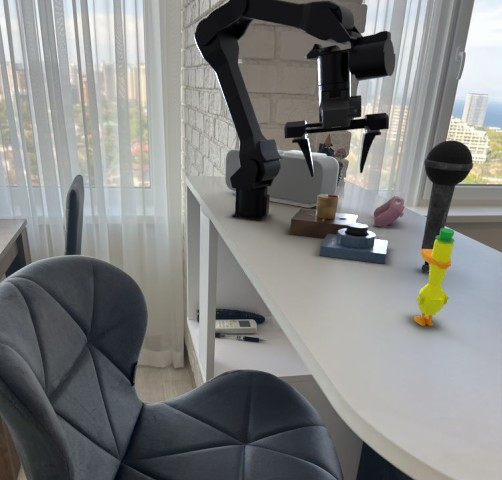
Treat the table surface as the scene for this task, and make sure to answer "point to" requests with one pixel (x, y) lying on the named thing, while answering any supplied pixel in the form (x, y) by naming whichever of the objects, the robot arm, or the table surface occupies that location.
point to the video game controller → (389, 211)
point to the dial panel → (319, 223)
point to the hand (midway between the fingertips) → (336, 174)
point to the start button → (357, 229)
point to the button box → (354, 247)
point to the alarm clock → (295, 177)
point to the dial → (326, 206)
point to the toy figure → (435, 277)
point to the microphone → (443, 185)
